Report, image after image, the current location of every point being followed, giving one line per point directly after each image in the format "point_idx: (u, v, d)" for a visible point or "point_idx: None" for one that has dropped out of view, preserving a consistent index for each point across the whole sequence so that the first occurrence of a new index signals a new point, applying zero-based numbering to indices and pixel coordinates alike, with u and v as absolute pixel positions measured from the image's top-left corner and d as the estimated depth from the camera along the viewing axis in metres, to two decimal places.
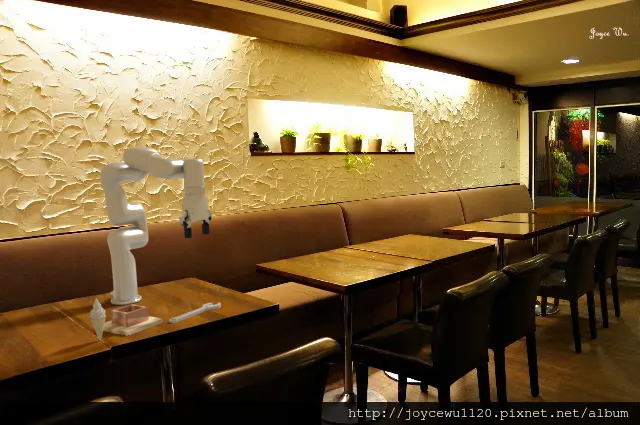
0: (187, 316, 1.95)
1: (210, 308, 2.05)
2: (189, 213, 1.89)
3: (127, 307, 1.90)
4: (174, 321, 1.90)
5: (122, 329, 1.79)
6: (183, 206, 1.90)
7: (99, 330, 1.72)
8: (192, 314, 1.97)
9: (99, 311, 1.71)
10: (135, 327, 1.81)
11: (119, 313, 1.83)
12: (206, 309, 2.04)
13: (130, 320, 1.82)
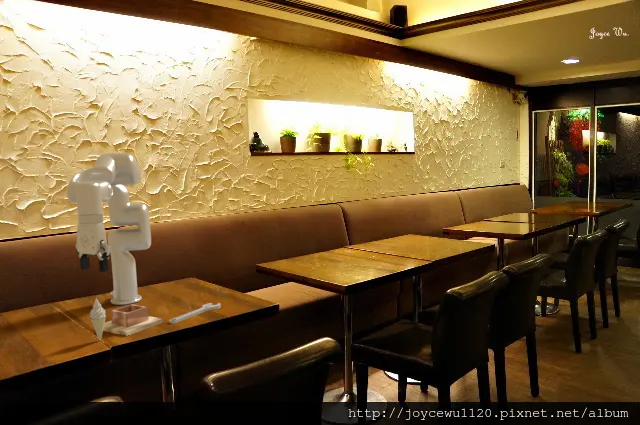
0: (187, 316, 1.95)
1: (210, 308, 2.04)
2: (105, 243, 1.68)
3: (127, 307, 1.90)
4: (174, 321, 1.89)
5: (122, 329, 1.79)
6: (97, 236, 1.66)
7: (99, 330, 1.72)
8: (192, 314, 1.97)
9: (99, 311, 1.71)
10: (135, 327, 1.81)
11: (119, 313, 1.83)
12: (206, 309, 2.03)
13: (130, 320, 1.82)
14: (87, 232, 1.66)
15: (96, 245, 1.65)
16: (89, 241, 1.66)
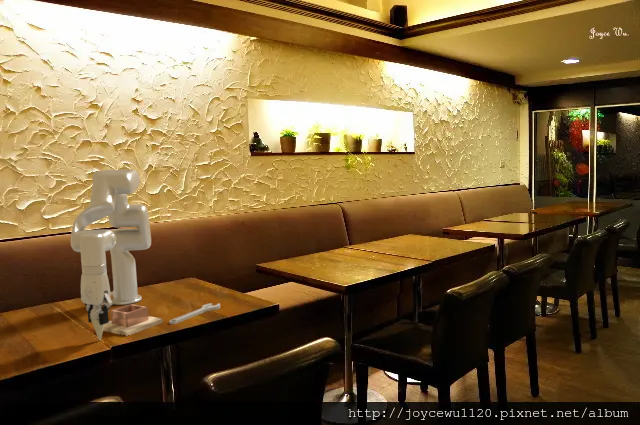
0: (187, 317, 1.94)
1: (210, 309, 2.04)
2: (109, 293, 1.70)
3: (127, 307, 1.90)
4: (174, 322, 1.88)
5: (122, 329, 1.79)
6: (101, 287, 1.67)
7: (99, 330, 1.72)
8: (192, 315, 1.96)
9: (99, 311, 1.71)
10: (135, 327, 1.81)
11: (119, 313, 1.83)
12: (206, 310, 2.03)
13: (130, 320, 1.82)
14: (91, 283, 1.68)
15: (100, 296, 1.67)
16: (93, 292, 1.68)
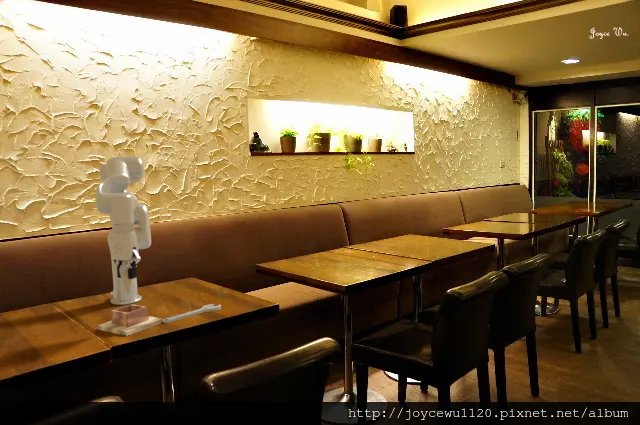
0: (182, 317, 1.94)
1: (209, 310, 2.02)
2: (137, 249, 1.83)
3: (127, 307, 1.90)
4: (167, 321, 1.90)
5: (122, 329, 1.79)
6: (130, 244, 1.80)
7: (128, 284, 1.85)
8: (188, 315, 1.96)
9: (128, 266, 1.84)
10: (135, 327, 1.81)
11: (119, 313, 1.83)
12: (204, 310, 2.02)
13: (130, 320, 1.82)
14: (121, 239, 1.81)
15: (129, 252, 1.80)
16: (122, 248, 1.81)
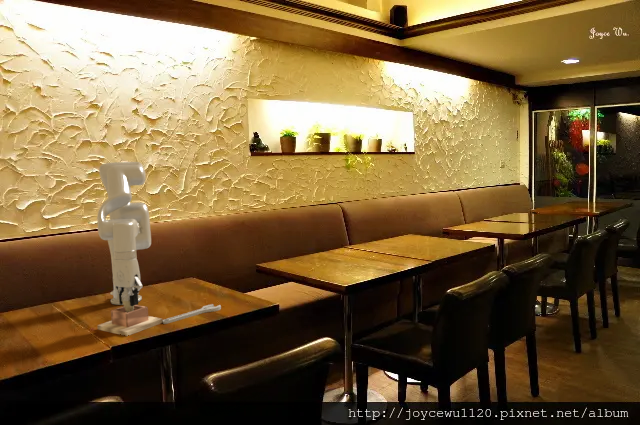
0: (182, 317, 1.94)
1: (208, 310, 2.02)
2: (139, 277, 1.84)
3: None
4: (167, 322, 1.89)
5: (122, 329, 1.79)
6: (132, 271, 1.82)
7: (130, 311, 1.86)
8: (188, 315, 1.96)
9: None
10: (135, 327, 1.81)
11: (119, 313, 1.83)
12: (204, 311, 2.01)
13: (130, 320, 1.82)
14: (123, 267, 1.82)
15: (131, 279, 1.81)
16: (124, 276, 1.82)
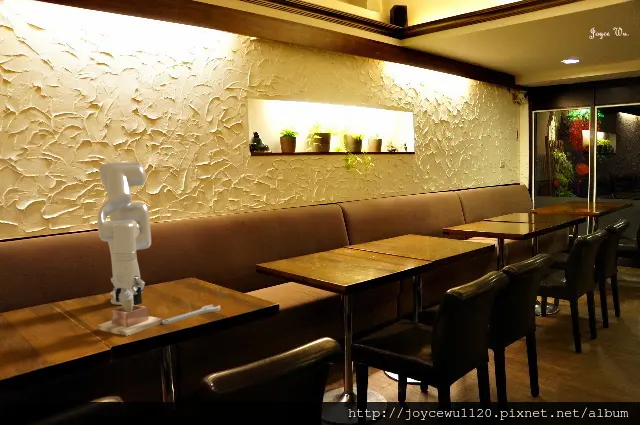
0: (181, 318, 1.93)
1: (208, 310, 2.01)
2: None
3: None
4: (166, 322, 1.88)
5: (122, 329, 1.79)
6: (132, 273, 1.82)
7: (129, 311, 1.87)
8: (187, 316, 1.95)
9: (127, 293, 1.86)
10: (135, 327, 1.81)
11: (119, 313, 1.83)
12: (204, 311, 2.01)
13: (130, 320, 1.82)
14: (123, 268, 1.82)
15: (131, 281, 1.81)
16: (125, 277, 1.82)
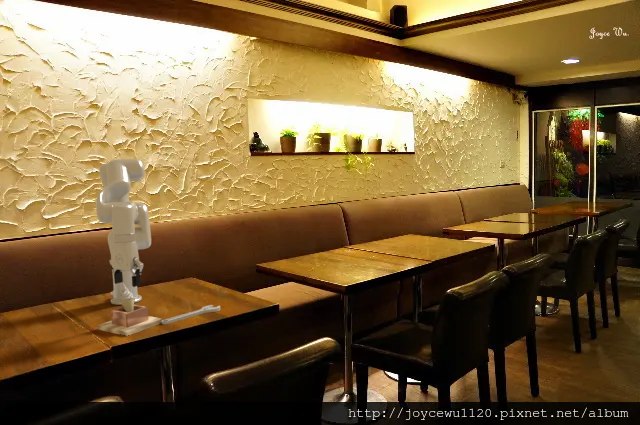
0: (181, 318, 1.93)
1: (208, 311, 2.01)
2: (138, 260, 1.84)
3: None
4: (165, 322, 1.88)
5: (122, 329, 1.79)
6: (130, 254, 1.81)
7: (129, 310, 1.87)
8: (187, 316, 1.95)
9: (126, 293, 1.89)
10: (135, 327, 1.81)
11: (119, 313, 1.83)
12: (203, 312, 2.00)
13: (130, 320, 1.82)
14: (121, 250, 1.81)
15: (130, 262, 1.81)
16: (123, 258, 1.81)
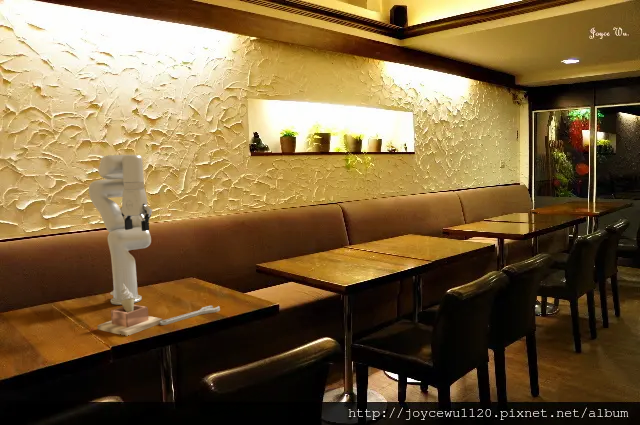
0: (180, 319, 1.92)
1: (207, 311, 2.00)
2: None
3: None
4: (164, 323, 1.88)
5: (122, 329, 1.79)
6: (140, 200, 1.96)
7: (129, 310, 1.87)
8: (186, 317, 1.94)
9: (126, 293, 1.89)
10: (135, 327, 1.81)
11: (119, 313, 1.83)
12: (203, 312, 1.99)
13: (130, 320, 1.82)
14: (131, 196, 1.96)
15: (139, 208, 1.96)
16: (133, 204, 1.96)
